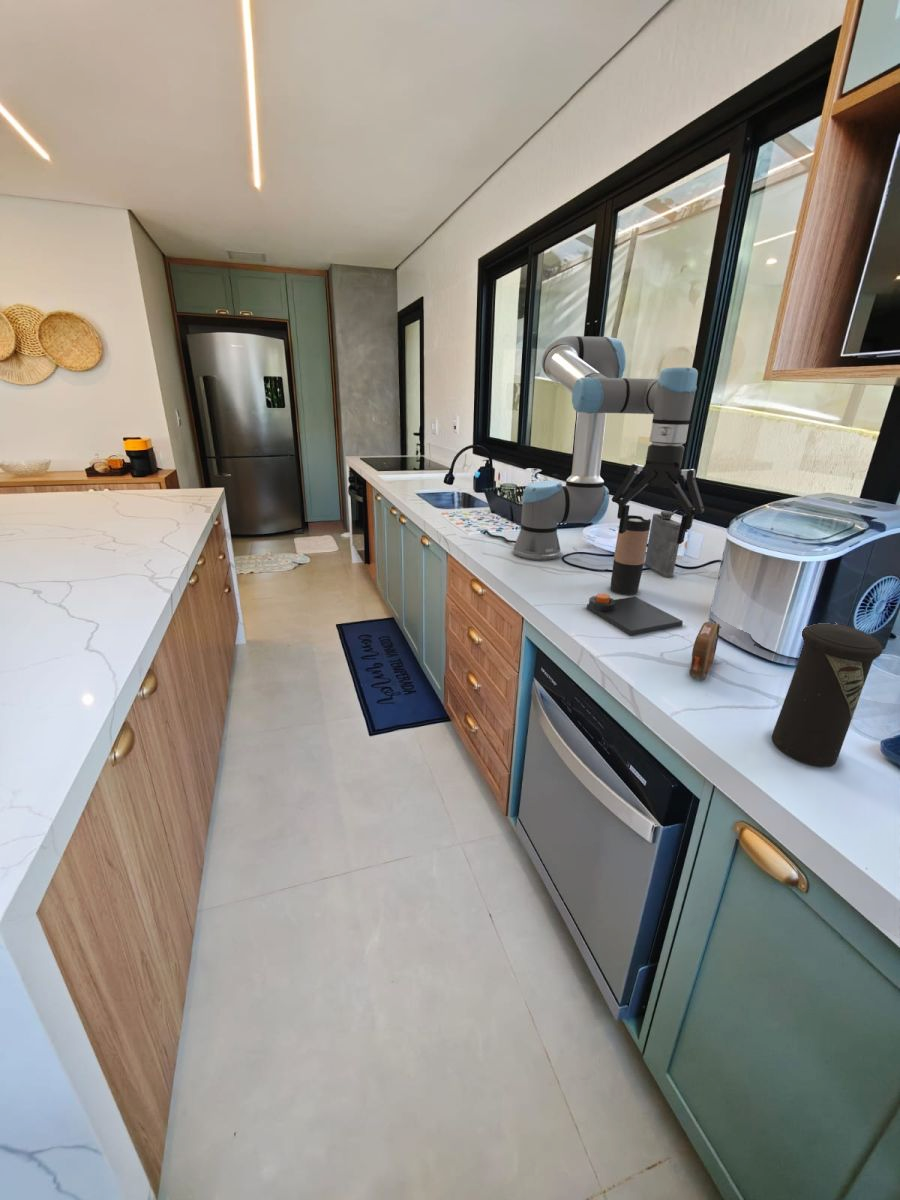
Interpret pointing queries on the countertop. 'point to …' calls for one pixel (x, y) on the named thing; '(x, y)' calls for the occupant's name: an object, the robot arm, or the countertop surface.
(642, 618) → the scale
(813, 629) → the container
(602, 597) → the tare button
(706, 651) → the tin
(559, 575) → the countertop surface
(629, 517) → the travel mug
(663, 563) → the flask
